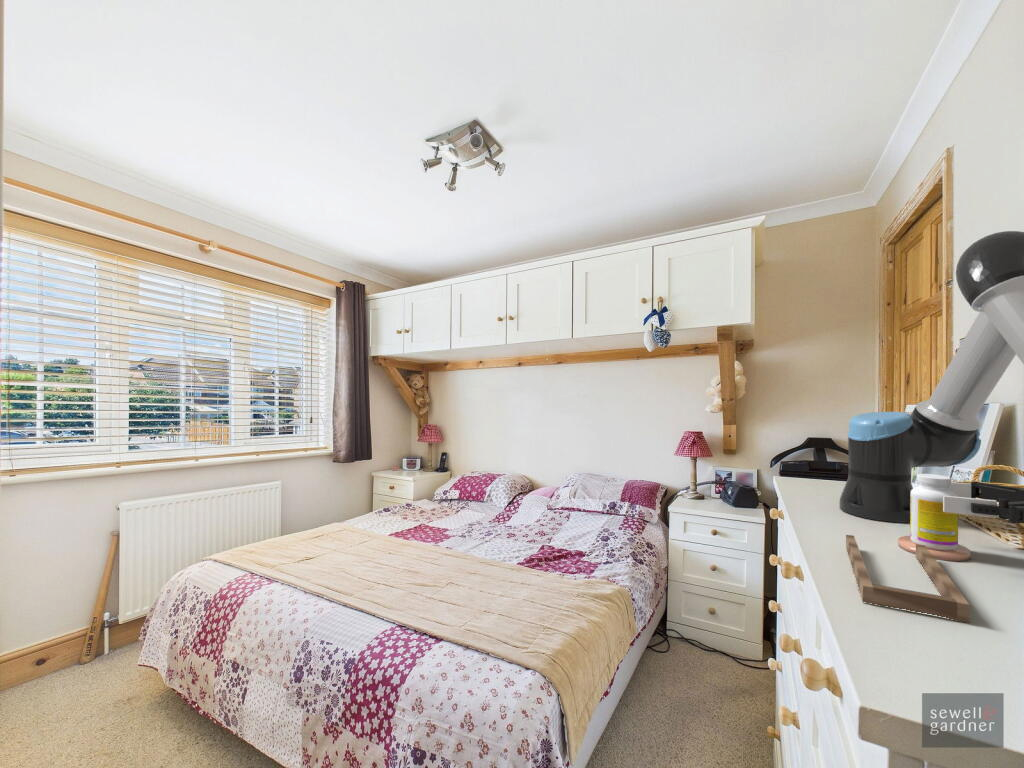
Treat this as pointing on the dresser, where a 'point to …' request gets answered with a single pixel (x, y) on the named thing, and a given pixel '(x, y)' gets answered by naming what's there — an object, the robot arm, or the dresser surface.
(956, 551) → the pink round coaster
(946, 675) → the dresser surface
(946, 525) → the supplement bottle
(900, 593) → the walnut channel
